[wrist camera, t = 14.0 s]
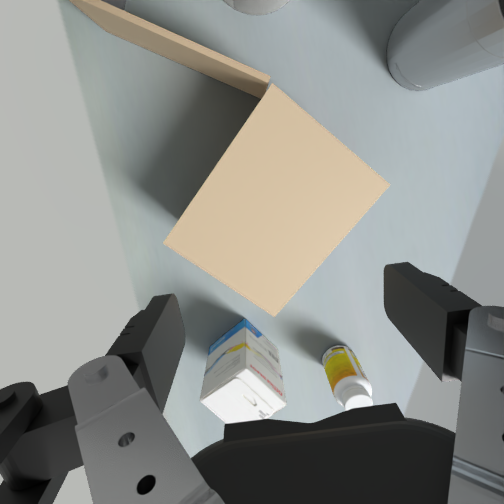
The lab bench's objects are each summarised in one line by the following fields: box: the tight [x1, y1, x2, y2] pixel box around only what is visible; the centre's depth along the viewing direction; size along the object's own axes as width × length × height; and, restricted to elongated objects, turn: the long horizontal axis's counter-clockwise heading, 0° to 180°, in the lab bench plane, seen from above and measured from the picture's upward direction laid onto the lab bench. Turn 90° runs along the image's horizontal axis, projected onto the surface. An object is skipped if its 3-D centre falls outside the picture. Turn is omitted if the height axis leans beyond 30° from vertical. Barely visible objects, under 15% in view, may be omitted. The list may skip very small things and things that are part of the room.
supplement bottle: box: [322, 345, 373, 411], centre depth 46 cm, size 6×6×10 cm
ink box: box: [200, 318, 287, 424], centre depth 45 cm, size 9×8×12 cm
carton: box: [163, 83, 390, 317], centre depth 38 cm, size 20×16×10 cm
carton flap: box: [69, 0, 270, 99], centre depth 29 cm, size 20×6×14 cm, turn 69°
